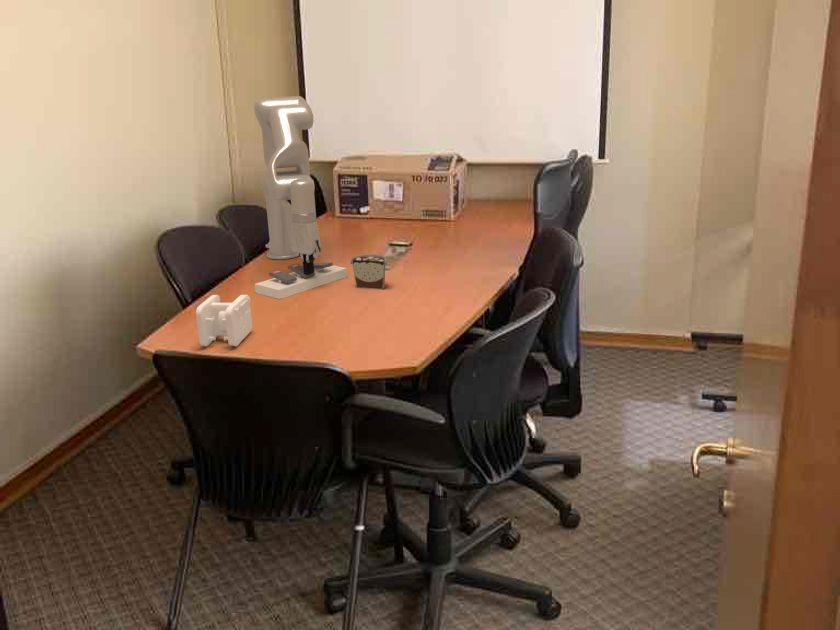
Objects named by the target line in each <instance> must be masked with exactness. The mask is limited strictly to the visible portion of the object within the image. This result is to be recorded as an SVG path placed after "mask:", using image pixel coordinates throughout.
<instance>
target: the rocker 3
mask: <svg viewBox="0 0 840 630" xmlns="http://www.w3.org/2000/svg"><path fill="white" fill-rule="evenodd" d="M313 262H314V261H313ZM333 265H334V264H333V262H320V261H319V262H314V268H326V267H330V266H333Z"/></svg>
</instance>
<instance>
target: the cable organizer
mask: <svg viewBox="0 0 840 630" xmlns="http://www.w3.org/2000/svg"><path fill="white" fill-rule="evenodd" d="M251 302H252V300H251V297H250V296H249V295H248V294H240V295H239V296H238V297H237V298H236V299H235V300H233V301H232V302H221V297H220V295H219V294H212V295H210V296H209V297H208V298H207V299H205V300H204V301H203V302H202V303H200V304H199V305H198V306H197V308H196V311H195V316H196V317H195V318H196V326H197V332H198V341H199V344H200V346H204V347H206V348H207V347H209V345H211V344H212V342H213V341H216V340H217V339H216V338H218V337H220V336H222V337H223V341H224V342H226V341H227V342H228V345H229V346H230V347H231V346H233V347H238V346H239V344H241V342H242V341H243V340H244V339H246V337H247V336H249V334H251V331H252V329H253V319H252V309H251Z"/></svg>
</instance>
